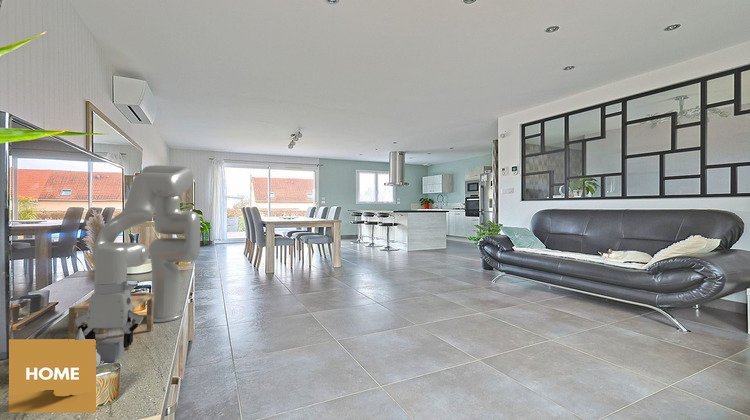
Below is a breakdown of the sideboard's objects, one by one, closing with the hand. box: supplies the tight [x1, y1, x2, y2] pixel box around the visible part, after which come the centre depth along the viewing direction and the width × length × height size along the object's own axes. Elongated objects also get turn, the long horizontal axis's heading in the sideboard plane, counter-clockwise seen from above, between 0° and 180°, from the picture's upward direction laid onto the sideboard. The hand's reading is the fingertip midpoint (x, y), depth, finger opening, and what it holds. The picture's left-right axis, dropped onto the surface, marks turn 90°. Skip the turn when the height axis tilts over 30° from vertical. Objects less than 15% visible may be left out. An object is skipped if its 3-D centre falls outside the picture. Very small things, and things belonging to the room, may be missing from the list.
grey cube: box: [95, 337, 125, 363], centre depth 101 cm, size 5×5×5 cm
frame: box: [68, 292, 154, 351], centre depth 113 cm, size 16×16×14 cm
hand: (109, 346), depth 100 cm, fingers open, 9 cm apart
